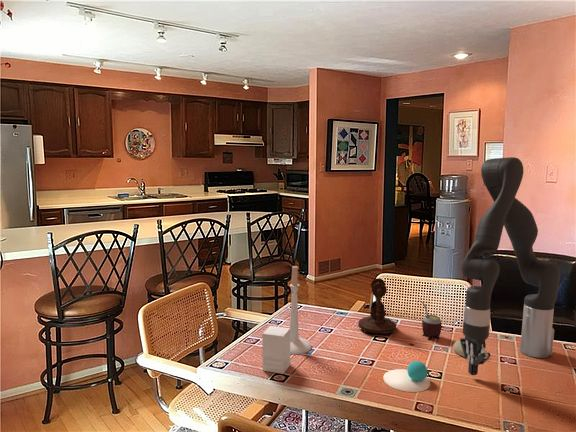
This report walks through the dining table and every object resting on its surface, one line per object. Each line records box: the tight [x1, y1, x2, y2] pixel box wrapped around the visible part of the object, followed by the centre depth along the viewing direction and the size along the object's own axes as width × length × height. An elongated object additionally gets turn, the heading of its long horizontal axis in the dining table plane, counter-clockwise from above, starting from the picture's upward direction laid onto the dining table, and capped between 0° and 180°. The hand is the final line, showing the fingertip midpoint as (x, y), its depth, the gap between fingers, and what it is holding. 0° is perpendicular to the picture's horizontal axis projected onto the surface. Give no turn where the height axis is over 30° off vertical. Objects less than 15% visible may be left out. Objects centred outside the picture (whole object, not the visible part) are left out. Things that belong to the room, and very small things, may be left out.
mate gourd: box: [419, 300, 443, 341], centre depth 176 cm, size 8×8×15 cm
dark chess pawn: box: [357, 277, 397, 336], centre depth 183 cm, size 15×15×20 cm
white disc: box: [383, 368, 431, 393], centre depth 143 cm, size 14×14×1 cm
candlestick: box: [289, 265, 312, 355], centre depth 165 cm, size 13×13×30 cm
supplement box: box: [262, 325, 291, 375], centre depth 150 cm, size 7×7×13 cm
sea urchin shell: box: [452, 339, 466, 358], centre depth 163 cm, size 9×8×8 cm
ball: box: [406, 360, 428, 381], centre depth 143 cm, size 6×6×6 cm
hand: (472, 373), depth 145 cm, fingers closed
